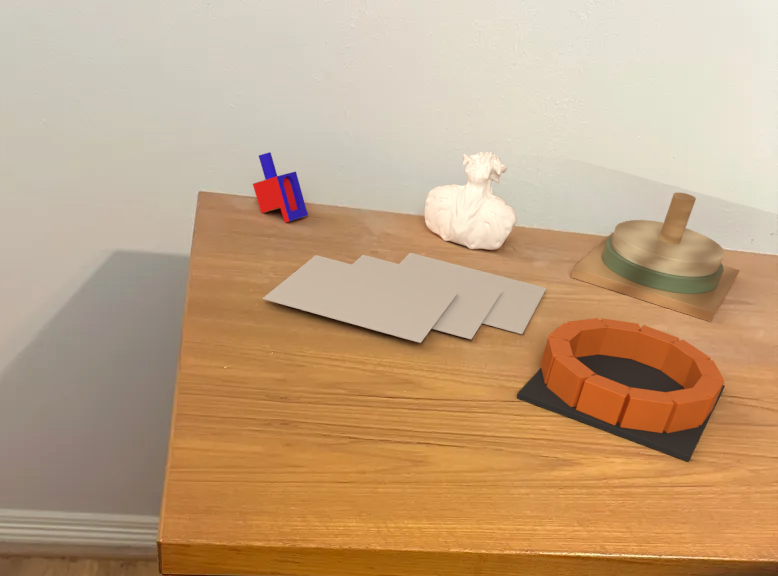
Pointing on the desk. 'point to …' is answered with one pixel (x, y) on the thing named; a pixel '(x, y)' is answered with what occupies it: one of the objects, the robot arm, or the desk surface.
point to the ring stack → (662, 263)
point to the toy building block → (279, 191)
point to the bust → (472, 206)
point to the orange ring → (621, 400)
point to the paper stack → (409, 296)
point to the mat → (631, 376)
